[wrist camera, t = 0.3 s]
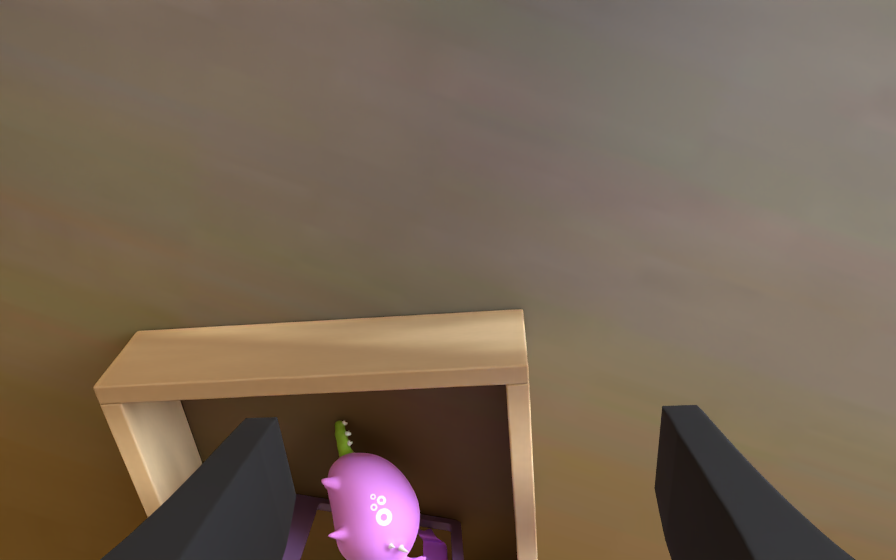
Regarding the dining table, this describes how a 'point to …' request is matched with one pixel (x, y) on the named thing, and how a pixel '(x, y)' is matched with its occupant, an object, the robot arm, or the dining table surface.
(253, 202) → the dining table surface
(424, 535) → the purple monster figurine
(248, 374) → the birch box
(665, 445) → the robot arm
